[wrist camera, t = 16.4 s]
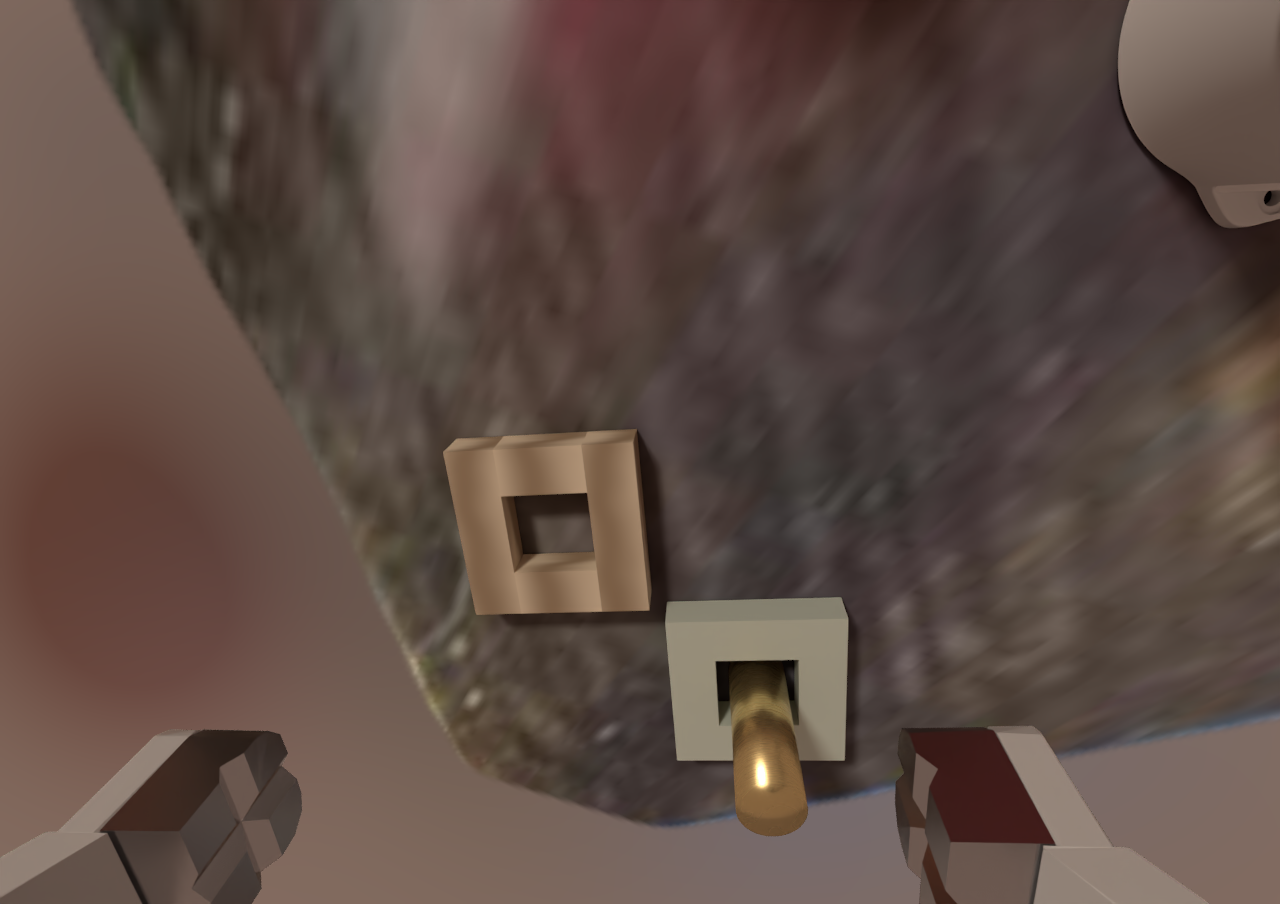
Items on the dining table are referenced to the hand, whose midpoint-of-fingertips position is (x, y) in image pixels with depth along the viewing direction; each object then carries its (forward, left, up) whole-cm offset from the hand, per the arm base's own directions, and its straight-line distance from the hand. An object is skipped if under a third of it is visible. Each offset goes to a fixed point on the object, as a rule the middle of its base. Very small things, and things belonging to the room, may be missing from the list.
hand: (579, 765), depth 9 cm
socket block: (-4, +26, -34) cm, 43 cm away
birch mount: (+9, +13, -34) cm, 38 cm away
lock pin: (-4, +26, -34) cm, 43 cm away
